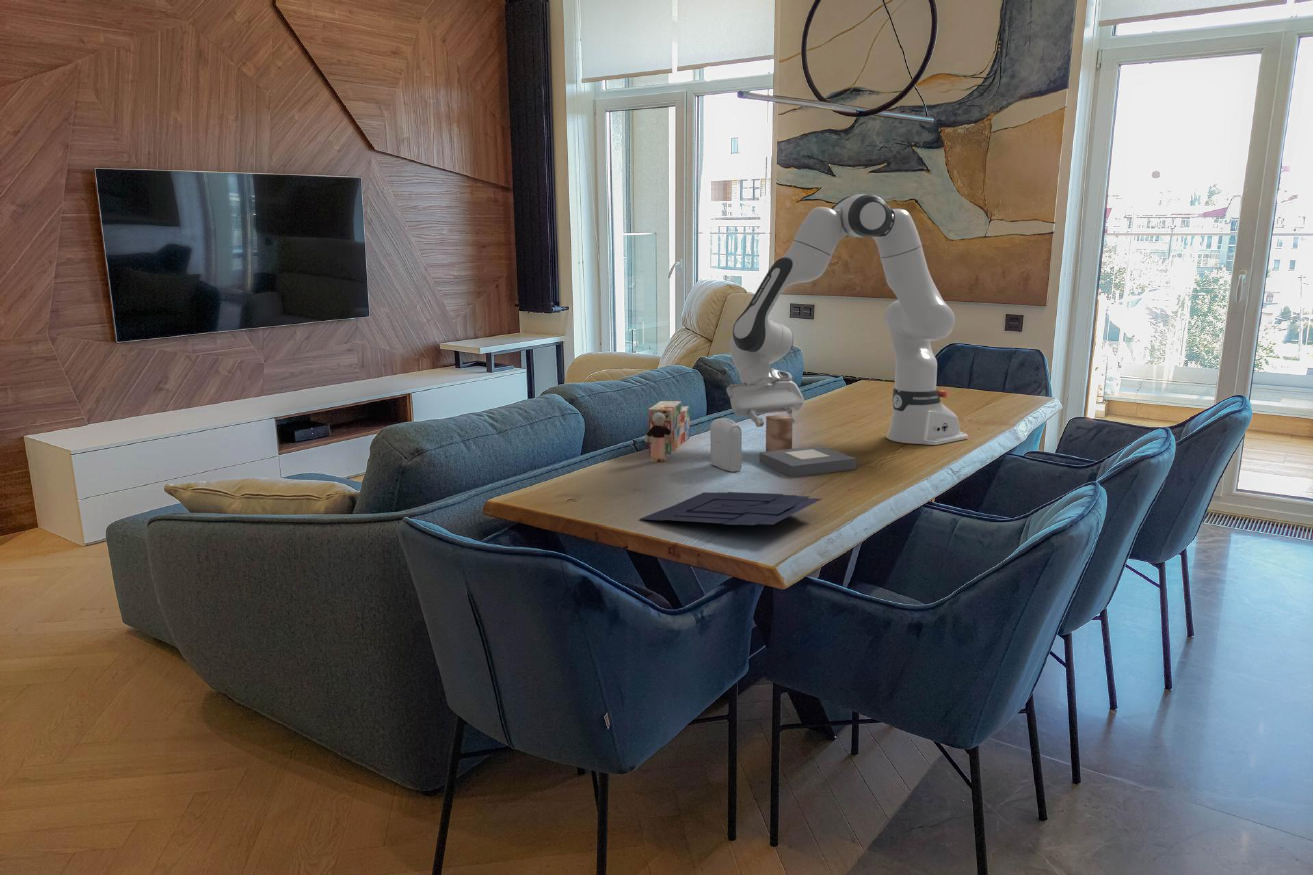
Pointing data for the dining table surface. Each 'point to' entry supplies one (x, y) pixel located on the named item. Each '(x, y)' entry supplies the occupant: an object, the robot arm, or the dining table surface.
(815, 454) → the base plate
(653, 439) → the grandmother figurine
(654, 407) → the stack of blocks
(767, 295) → the robot arm
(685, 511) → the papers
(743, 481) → the dining table surface
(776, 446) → the terracotta block
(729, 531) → the dining table surface
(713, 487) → the dining table surface
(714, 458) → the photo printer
